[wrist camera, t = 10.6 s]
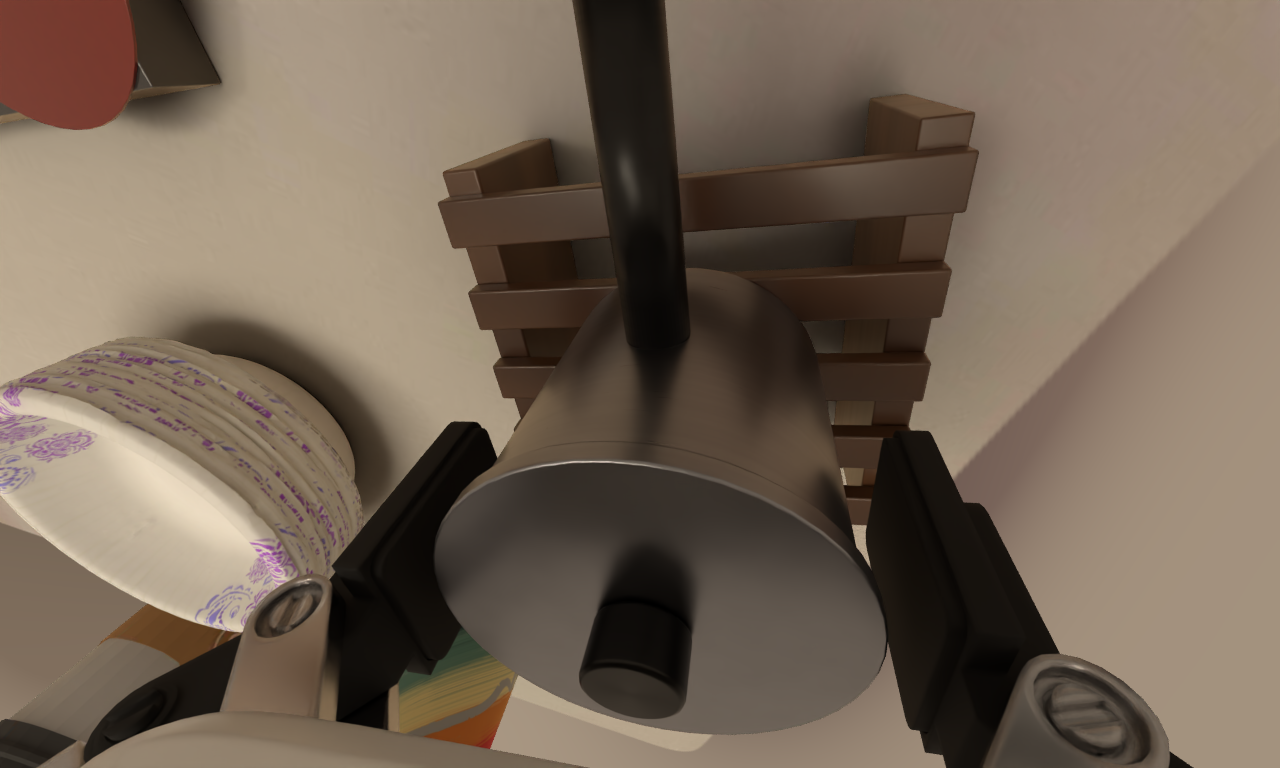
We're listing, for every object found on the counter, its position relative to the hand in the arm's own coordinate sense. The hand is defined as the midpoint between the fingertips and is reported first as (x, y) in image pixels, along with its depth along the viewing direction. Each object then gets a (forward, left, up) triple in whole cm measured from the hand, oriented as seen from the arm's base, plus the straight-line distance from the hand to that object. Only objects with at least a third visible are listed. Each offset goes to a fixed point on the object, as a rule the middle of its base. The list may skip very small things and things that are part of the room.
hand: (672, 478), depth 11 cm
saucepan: (-3, 0, -4) cm, 5 cm away
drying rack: (0, 0, -10) cm, 10 cm away
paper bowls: (+7, -25, -10) cm, 28 cm away
